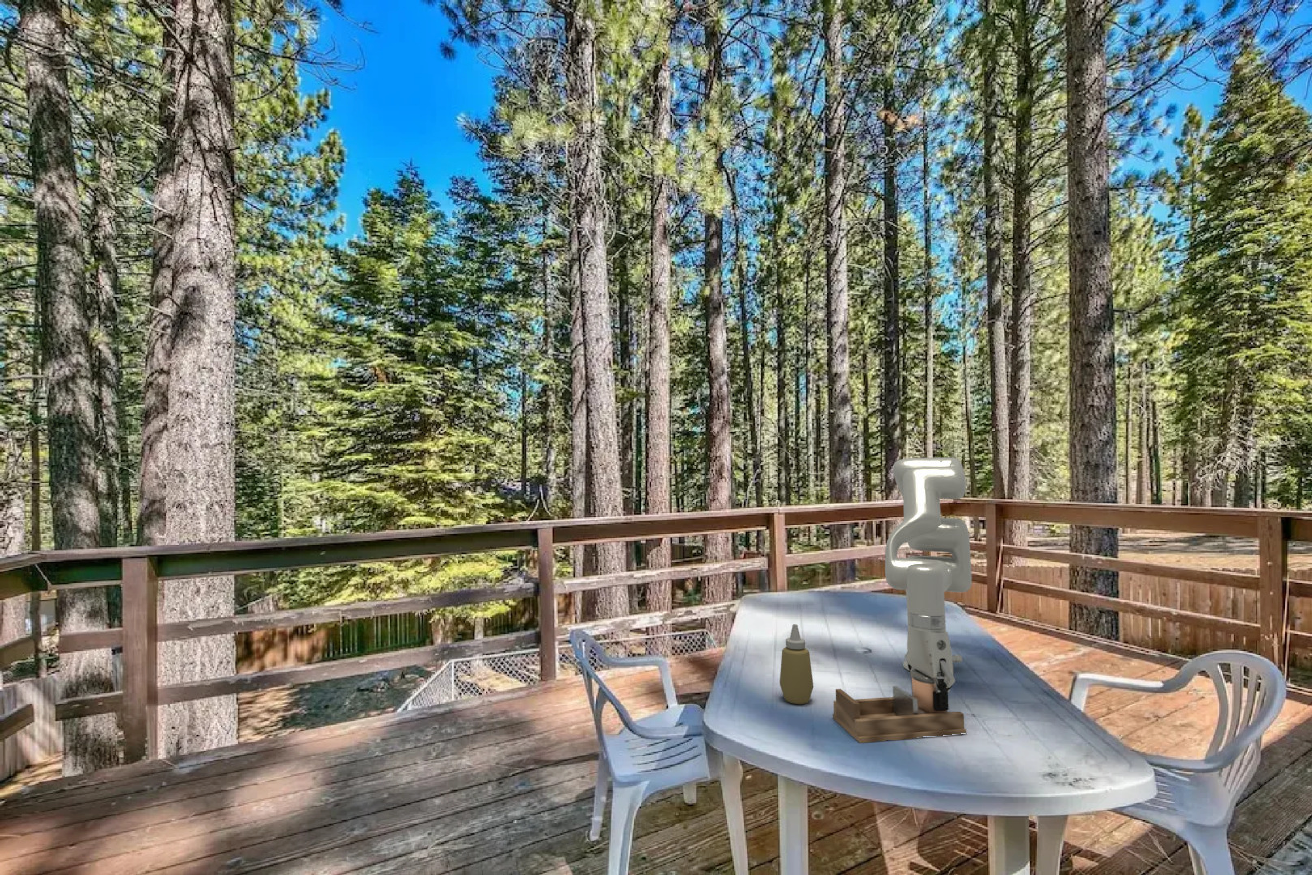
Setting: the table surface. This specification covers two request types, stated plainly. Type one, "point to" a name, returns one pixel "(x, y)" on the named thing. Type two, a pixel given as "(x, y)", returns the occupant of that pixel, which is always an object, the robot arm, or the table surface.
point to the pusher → (905, 703)
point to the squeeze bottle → (796, 670)
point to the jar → (924, 691)
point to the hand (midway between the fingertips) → (929, 702)
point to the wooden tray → (890, 720)
